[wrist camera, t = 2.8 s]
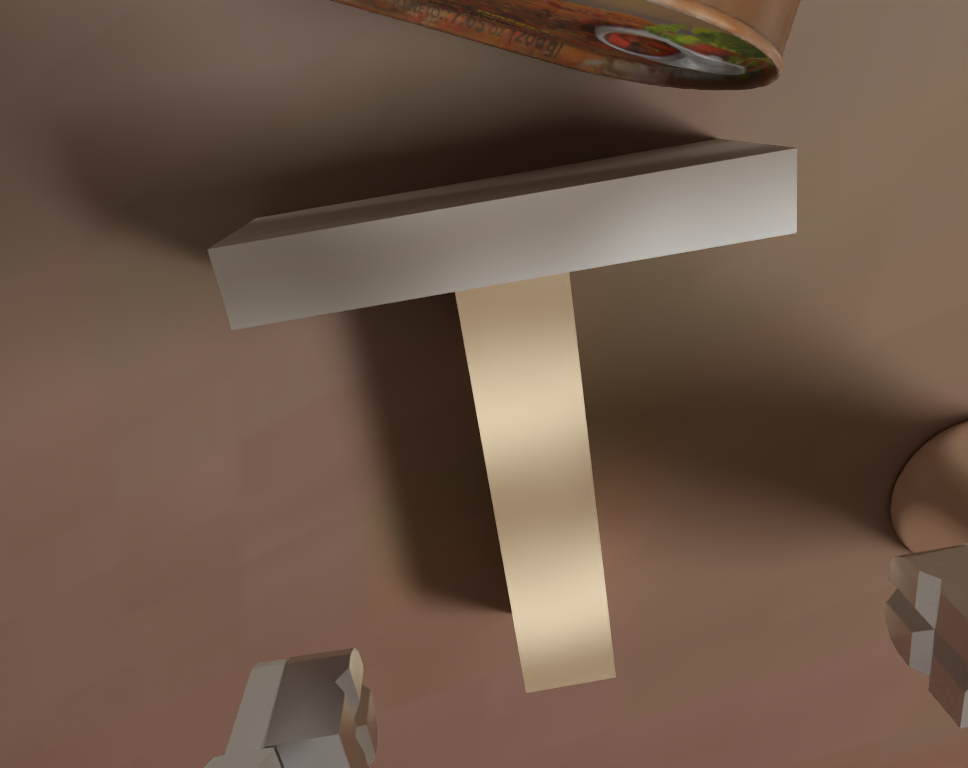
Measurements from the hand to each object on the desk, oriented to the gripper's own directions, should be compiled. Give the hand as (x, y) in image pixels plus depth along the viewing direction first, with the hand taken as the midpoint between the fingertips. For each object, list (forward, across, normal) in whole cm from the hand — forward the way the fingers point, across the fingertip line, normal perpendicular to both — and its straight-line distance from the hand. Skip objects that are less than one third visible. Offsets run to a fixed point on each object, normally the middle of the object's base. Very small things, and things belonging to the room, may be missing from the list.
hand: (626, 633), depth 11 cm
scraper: (+13, 0, -3) cm, 14 cm away
